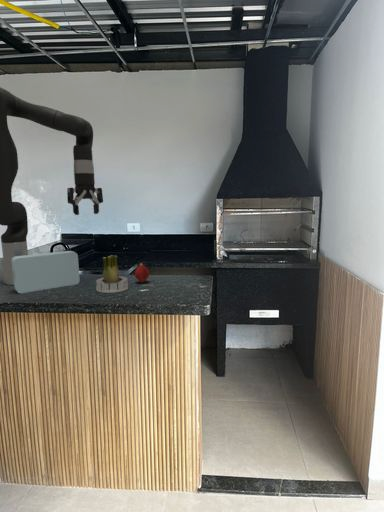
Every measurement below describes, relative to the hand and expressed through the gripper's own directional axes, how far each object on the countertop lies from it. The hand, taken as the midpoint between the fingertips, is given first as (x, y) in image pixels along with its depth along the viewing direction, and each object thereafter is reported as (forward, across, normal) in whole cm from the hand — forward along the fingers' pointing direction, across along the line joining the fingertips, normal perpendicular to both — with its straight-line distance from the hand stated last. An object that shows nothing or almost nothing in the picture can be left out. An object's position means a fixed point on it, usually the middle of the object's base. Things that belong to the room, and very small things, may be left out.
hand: (86, 214), depth 136 cm
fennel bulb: (+27, 0, -14) cm, 31 cm away
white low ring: (+28, 0, -15) cm, 32 cm away
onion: (+28, +14, -16) cm, 35 cm away
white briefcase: (+28, -15, +6) cm, 33 cm away
